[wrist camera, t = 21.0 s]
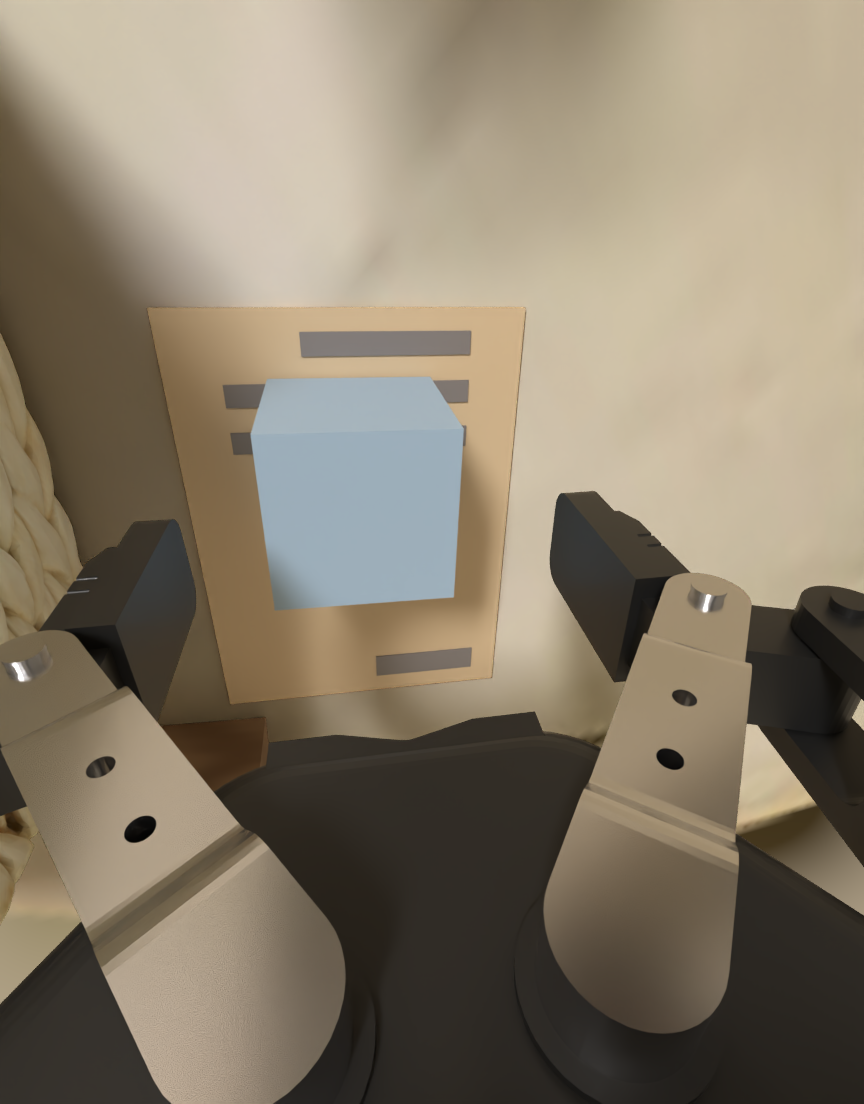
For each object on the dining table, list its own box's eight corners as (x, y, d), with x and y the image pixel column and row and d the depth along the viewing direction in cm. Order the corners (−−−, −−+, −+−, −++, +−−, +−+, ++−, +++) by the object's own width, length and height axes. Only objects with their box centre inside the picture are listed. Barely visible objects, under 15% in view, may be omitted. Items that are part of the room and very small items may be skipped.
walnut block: (265, 715, 24) (254, 819, 20) (278, 820, 28) (270, 929, 24) (139, 725, 24) (99, 837, 19) (168, 833, 27) (139, 948, 23)
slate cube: (430, 376, 18) (463, 428, 14) (426, 517, 21) (453, 597, 17) (266, 379, 17) (250, 434, 13) (284, 524, 20) (274, 610, 16)
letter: (524, 307, 18) (526, 307, 18) (490, 675, 25) (491, 678, 25) (147, 307, 16) (146, 308, 16) (230, 702, 24) (229, 705, 23)
